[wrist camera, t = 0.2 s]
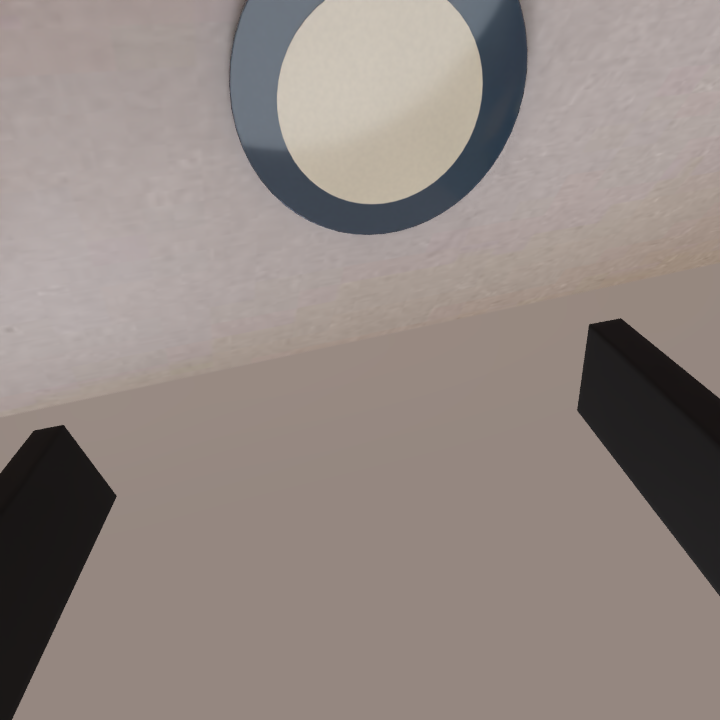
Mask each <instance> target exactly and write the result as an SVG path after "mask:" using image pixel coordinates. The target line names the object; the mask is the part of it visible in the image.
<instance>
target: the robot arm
mask: <svg viewBox="0 0 720 720" xmlns="http://www.w3.org/2000/svg"><path fill="white" fill-rule="evenodd" d="M577 410H578V412H579V413H580V415H581V416H582V417H583V418H584V420H585V421H586V422H587V424H588V425H589V426H590V427H591V429H592V430H593V432H594V433H595V434H596V435H597V437H598V438H599V439H600V441H601V442H602V443H603V445H604V446H605V447H606V448H607V450H608V451H609V452H610V454H611V455H612V456H613V458H614V459H615V460H616V462H617V463H618V464H619V465H620V467H621V468H622V469H623V471H624V472H625V473H626V474H627V476H628V477H629V478H630V480H631V481H632V482H633V484H634V485H635V486H636V488H637V489H638V490H639V491H640V493H641V494H642V495H643V496H644V498H645V499H646V501H647V502H648V503H649V504H650V506H651V507H652V508H653V510H654V511H655V512H656V513H657V515H658V516H659V517H660V519H661V520H662V521H663V523H664V524H665V525H666V526H667V528H668V529H669V531H671V533H672V534H673V535H674V537H675V538H676V540H677V541H678V542H679V544H680V545H681V546H682V547H683V548H684V550H685V551H686V553H687V554H688V555H689V557H690V558H691V559H692V560H693V562H694V563H695V564H696V565H697V567H698V568H699V569H700V571H701V572H702V574H703V575H704V576H705V577H706V579H707V580H708V581H709V583H710V584H711V585H712V587H713V588H714V589H715V590H716V592H717V593H718V594H719V596H720V399H719V398H718V397H717V396H716V395H714V394H713V393H712V392H711V391H710V390H708V389H707V388H706V387H705V386H703V385H702V384H701V383H699V382H698V381H697V380H696V379H695V378H694V377H692V376H691V375H690V374H689V373H687V372H686V371H685V370H684V369H683V368H681V367H680V366H679V365H678V364H676V363H675V362H674V361H673V360H671V359H670V358H669V357H668V356H666V355H665V354H664V353H663V352H662V351H660V350H659V349H658V348H657V347H655V346H654V345H653V344H652V343H651V342H649V341H648V340H647V339H646V338H644V337H643V336H642V335H641V334H639V333H638V332H637V331H636V330H635V329H633V328H632V327H631V326H630V325H628V324H627V323H626V322H625V321H623V320H622V319H621V318H620V319H616V320H610V321H605V322H599V323H594V324H590V325H589V330H588V337H587V344H586V351H585V358H584V365H583V373H582V380H581V387H580V394H579V401H578V409H577ZM115 499H116V495H115V494H114V492H113V490H112V489H111V488H110V486H109V485H108V484H107V482H106V481H105V480H104V479H103V477H102V476H101V474H100V473H99V472H98V471H97V469H96V468H95V466H94V465H93V464H92V462H91V461H90V460H89V458H88V457H87V456H86V454H85V453H84V452H83V450H82V449H81V448H80V446H79V445H78V444H77V442H76V441H75V440H74V438H73V437H72V436H71V434H70V433H69V432H68V430H67V429H66V428H65V426H64V425H61V426H56V427H50V428H45V429H41V430H35V431H33V433H32V434H31V435H30V436H29V438H28V439H27V440H26V441H25V443H24V444H23V445H22V447H21V448H20V449H19V450H18V452H17V453H16V454H15V455H14V457H13V458H12V459H11V461H10V462H9V463H8V464H7V466H6V467H5V468H4V469H3V471H2V472H1V473H0V720H12V718H13V716H14V714H15V712H16V710H17V707H18V705H19V703H20V701H21V699H22V697H23V695H24V693H25V691H26V688H27V686H28V684H29V682H30V680H31V678H32V676H33V673H34V671H35V669H36V667H37V665H38V663H39V661H40V658H41V656H42V654H43V652H44V650H45V648H46V646H47V644H48V642H49V639H50V637H51V635H52V633H53V631H54V629H55V627H56V624H57V622H58V620H59V618H60V616H61V614H62V612H63V609H64V607H65V605H66V603H67V601H68V599H69V597H70V595H71V592H72V590H73V588H74V586H75V584H76V582H77V580H78V578H79V575H80V573H81V571H82V569H83V566H84V565H85V563H86V561H87V558H88V556H89V554H90V552H91V550H92V548H93V546H94V543H95V541H96V539H97V537H98V535H99V533H100V531H101V529H102V526H103V524H104V522H105V520H106V518H107V516H108V514H109V512H110V509H111V507H112V505H113V503H114V501H115Z"/></svg>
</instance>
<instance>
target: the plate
mask: <svg viewBox="0 0 720 720" xmlns="http://www.w3.org/2000/svg"><path fill="white" fill-rule="evenodd" d="M526 74H527V40H526V29H525V23H524V19H523V15H522V10H521V6H520V3H519V0H246V1H245V3H244V6H243V8H242V11H241V14H240V17H239V21H238V24H237V28H236V31H235V35H234V40H233V46H232V53H231V59H230V78H229V88H230V99H231V109H232V113H233V118H234V122H235V127H236V130H237V133H238V136H239V139H240V142H241V145H242V148H243V150H244V152H245V154H246V156H247V158H248V160H249V162H250V164H251V166H252V167H253V169H254V170H255V172H256V173H257V175H258V176H259V178H260V179H261V181H262V182H263V183H264V184H265V185H266V187H267V188H268V189H269V190H270V191H271V193H272V194H273V195H274V196H276V197H277V198H278V199H279V200H280V201H281V202H282V203H283V204H284V205H285V206H287V207H288V208H290V209H291V210H292V211H294V212H295V213H296V214H298V215H300V216H301V217H303V218H305V219H307V220H308V221H310V222H312V223H315V224H317V225H320V226H322V227H325V228H328V229H331V230H335V231H338V232H344V233H350V234H362V235H374V234H386V233H391V232H397V231H401V230H404V229H408V228H411V227H414V226H417V225H419V224H422V223H424V222H426V221H429V220H430V219H432V218H434V217H436V216H438V215H440V214H441V213H443V212H445V211H446V210H447V209H449V208H450V207H452V206H453V205H455V204H456V203H457V202H459V201H460V200H461V199H462V198H463V197H464V196H466V195H467V194H468V193H469V192H470V191H471V190H472V189H473V188H474V187H475V186H476V185H477V184H478V183H479V182H480V181H481V180H482V178H483V177H484V176H485V175H486V173H487V172H488V171H489V169H490V168H491V167H492V166H493V164H494V162H495V161H496V159H497V158H498V156H499V155H500V153H501V151H502V150H503V148H504V146H505V144H506V142H507V140H508V138H509V136H510V134H511V132H512V129H513V127H514V124H515V121H516V119H517V116H518V113H519V109H520V105H521V102H522V98H523V94H524V87H525V81H526Z"/></svg>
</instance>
